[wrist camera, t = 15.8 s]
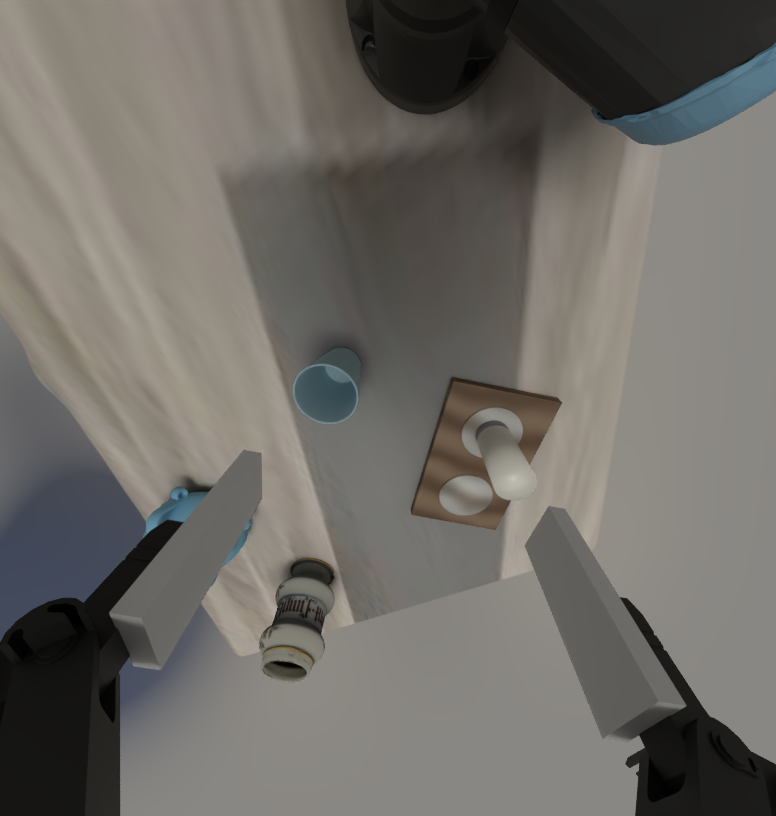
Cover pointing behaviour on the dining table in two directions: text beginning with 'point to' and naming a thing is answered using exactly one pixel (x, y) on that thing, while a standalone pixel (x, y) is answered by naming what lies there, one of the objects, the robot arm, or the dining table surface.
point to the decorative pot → (186, 514)
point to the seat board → (476, 451)
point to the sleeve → (505, 461)
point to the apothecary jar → (298, 622)
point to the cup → (329, 387)
